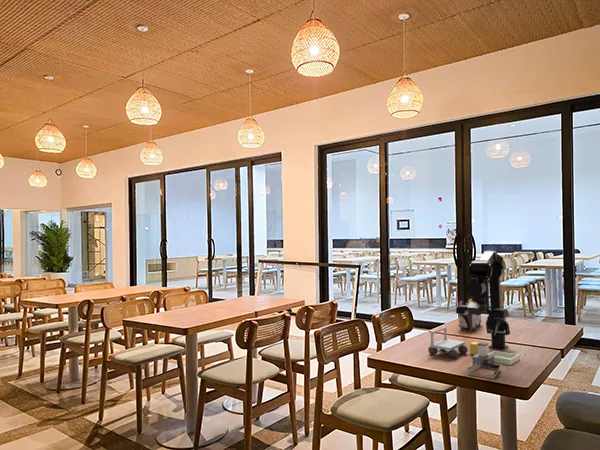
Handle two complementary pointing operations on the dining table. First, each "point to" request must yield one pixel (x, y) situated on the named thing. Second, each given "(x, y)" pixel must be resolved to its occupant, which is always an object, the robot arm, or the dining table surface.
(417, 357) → the dining table surface
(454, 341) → the trolley
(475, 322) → the toy vehicle
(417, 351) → the dining table surface
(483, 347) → the stop pin
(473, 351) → the yellow block
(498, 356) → the tray
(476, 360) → the pin bracket
